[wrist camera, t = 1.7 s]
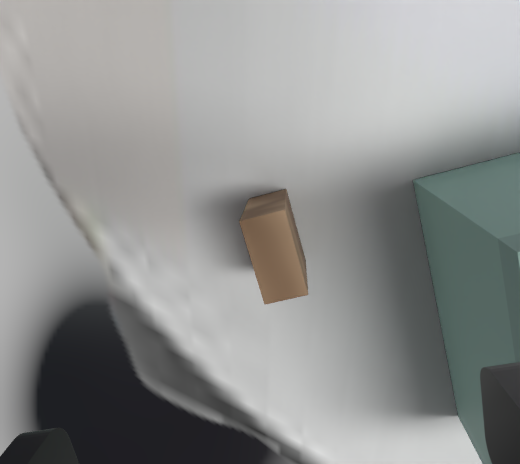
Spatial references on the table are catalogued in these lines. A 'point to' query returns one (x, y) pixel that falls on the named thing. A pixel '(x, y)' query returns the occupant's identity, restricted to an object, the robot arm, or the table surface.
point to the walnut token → (274, 247)
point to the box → (474, 274)
